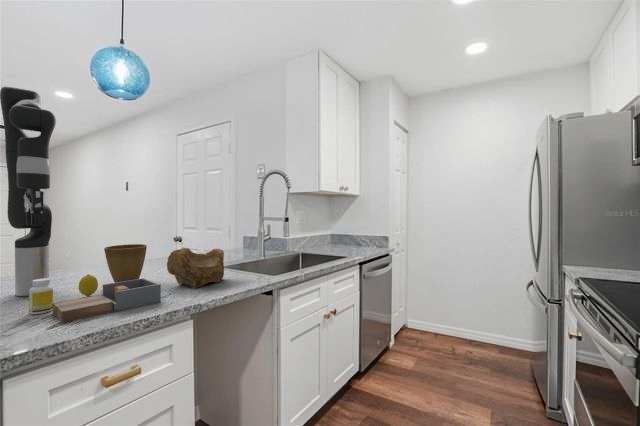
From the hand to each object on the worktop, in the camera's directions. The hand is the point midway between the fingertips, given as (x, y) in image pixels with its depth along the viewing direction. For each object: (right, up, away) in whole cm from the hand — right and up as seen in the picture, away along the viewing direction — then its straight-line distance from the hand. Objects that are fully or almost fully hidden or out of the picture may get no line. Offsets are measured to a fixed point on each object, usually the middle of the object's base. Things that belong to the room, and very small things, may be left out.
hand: (33, 225), depth 96 cm
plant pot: (+8, -26, +32) cm, 42 cm away
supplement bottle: (+4, -26, -1) cm, 27 cm away
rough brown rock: (+38, -26, +34) cm, 57 cm away
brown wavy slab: (+16, -26, -2) cm, 31 cm away
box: (+25, -26, +8) cm, 37 cm away
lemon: (+6, -26, +15) cm, 31 cm away
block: (+22, -23, +5) cm, 32 cm away
